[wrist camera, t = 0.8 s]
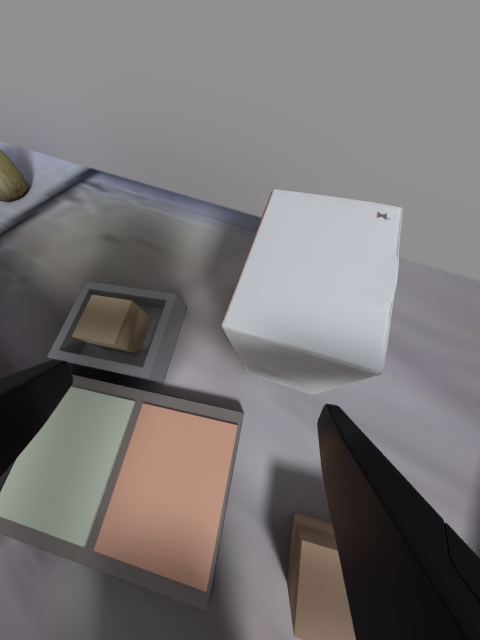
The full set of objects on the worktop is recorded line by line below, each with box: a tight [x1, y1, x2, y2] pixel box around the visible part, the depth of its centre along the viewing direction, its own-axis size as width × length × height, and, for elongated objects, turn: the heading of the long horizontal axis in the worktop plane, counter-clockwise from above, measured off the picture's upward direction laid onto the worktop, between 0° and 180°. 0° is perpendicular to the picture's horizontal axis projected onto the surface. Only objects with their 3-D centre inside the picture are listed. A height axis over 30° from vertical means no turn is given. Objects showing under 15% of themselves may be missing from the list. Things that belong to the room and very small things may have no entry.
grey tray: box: [47, 281, 187, 383], centre depth 22 cm, size 8×10×3 cm
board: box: [0, 374, 244, 611], centre depth 18 cm, size 12×18×1 cm, turn 78°
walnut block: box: [287, 512, 356, 640], centre depth 14 cm, size 4×4×4 cm
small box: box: [221, 189, 402, 395], centre depth 16 cm, size 8×6×13 cm
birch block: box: [72, 295, 153, 355], centre depth 21 cm, size 4×4×4 cm
